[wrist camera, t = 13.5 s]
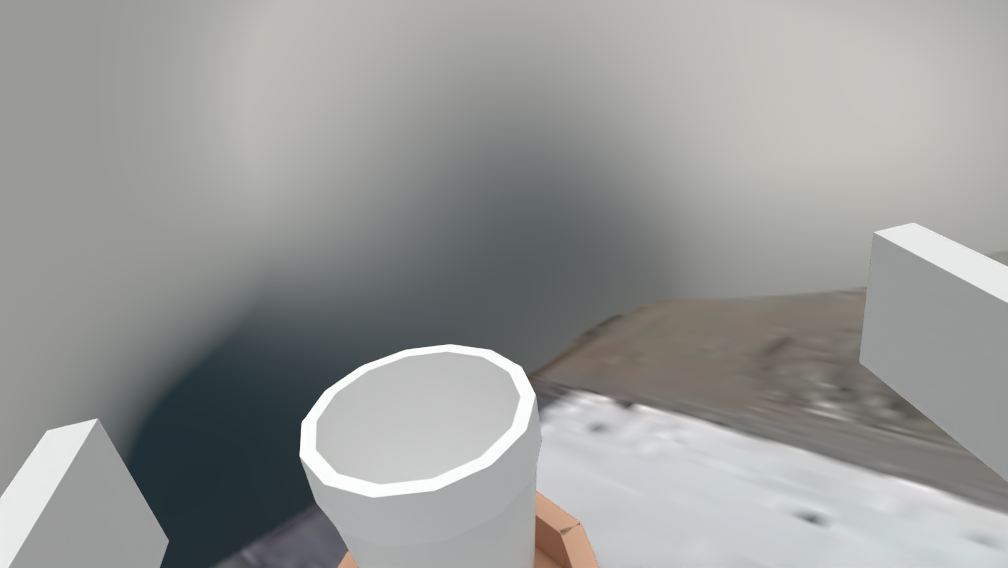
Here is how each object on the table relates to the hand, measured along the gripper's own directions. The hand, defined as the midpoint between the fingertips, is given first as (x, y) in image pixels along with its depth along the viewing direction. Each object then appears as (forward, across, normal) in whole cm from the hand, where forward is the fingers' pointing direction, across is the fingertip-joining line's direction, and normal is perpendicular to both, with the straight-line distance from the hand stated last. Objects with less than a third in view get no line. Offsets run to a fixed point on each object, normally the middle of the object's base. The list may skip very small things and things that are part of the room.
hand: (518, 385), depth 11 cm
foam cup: (+12, -4, -22) cm, 26 cm away
